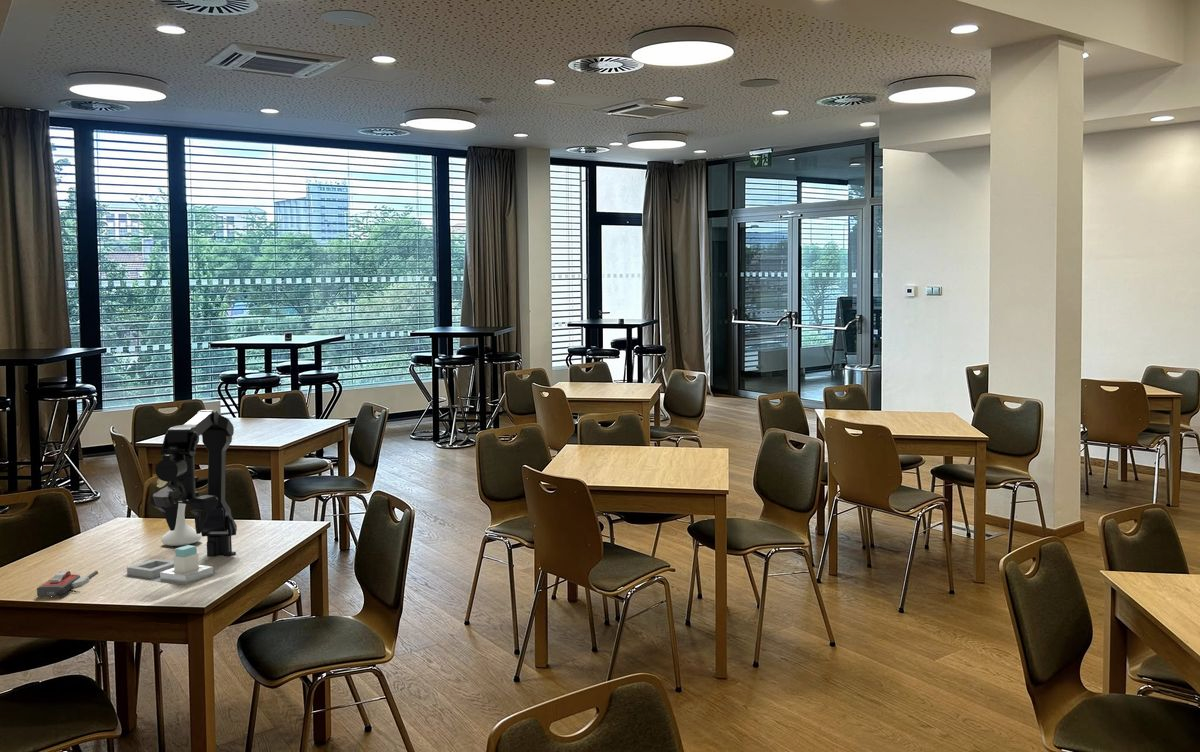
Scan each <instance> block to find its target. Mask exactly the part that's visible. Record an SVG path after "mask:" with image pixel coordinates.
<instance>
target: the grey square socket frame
mask: <svg viewBox="0 0 1200 752" xmlns="http://www.w3.org/2000/svg"><path fill="white" fill-rule="evenodd" d="M172 568H174V560H167V559H161V558H153V559H149V560H147V561H143V562H140V563H137V564H134V565H133V564H132V565H130V566H126V574H127V575H133V576H139V577H146V578H155V577H158V576H160V572H162V571H165V570H168V569H172Z"/></svg>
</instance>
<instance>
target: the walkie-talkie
mask: <svg viewBox="0 0 1200 752" xmlns="http://www.w3.org/2000/svg"><path fill="white" fill-rule="evenodd" d="M97 574H99V571H98V570H95V571H93V572H92V573H90V574H88V575H87V576H81V575H80V574H78V573H77V574H76V573H75V574H74V573H73V574H71V571H70V570H64V571H63V570H61V571H59V572H57V573H56V574H54V575H53V577H51V578H50V579H49V580H47V581H45V582H43V584H41V585H39V586H38V587H36V597H37V596H38V597H49V598H62V596H63V597H65V596H66V595H68V594H69V593H71V592H73V591H74V592H75V591H76V588H77V587H78V588H79V587H82V586H84V585H85V584H86V583H88V582H90V580H91V579H92V578H93V577H95V576H96V575H97ZM71 590H72V591H71ZM64 595H65V596H64ZM51 596H52V597H51ZM38 597H37V598H38Z"/></svg>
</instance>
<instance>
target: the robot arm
mask: <svg viewBox="0 0 1200 752" xmlns="http://www.w3.org/2000/svg"><path fill="white" fill-rule="evenodd" d="M196 412H197V413H196V414H195V415H194V416H193V417H192V418H191V419H189V420H187V422H185V423H184V424H181V425H180V424H179V425H174V426H171V427H169V428H168V430H167V431H166V432H165V433H164V434H165V435H164V437H163V441H162V446H161V449H160V453H159V454H160V456H162V459H161V460H160V461H159V462H157V464H156V466H155V469H154V470H155V475H156V477H157V478H158V479H160V480H162V481H166V482H167V483H166V485H165V486H164V487H161V489H160V490H158V491H157V492H155V493H152V495H151V496H150V497H149V498H150V500H149V501H150V505H152V506H154V508H155V509H157V510H159V511H160V512H161V513H162V515H163V516H164V519H165V522H166V523H167V526H168V528H169V530H171V531H173V530H175V526H176V521H177V512H178V505H179V503H182V504H186V505H190V507H191V508H192V509H191V510H190V511H189V512H191V514H192V515H193V516H194V527H195V528H194V529H195V530H196V534H201V538H202V537H206V541H207V542H206V556H207V557H213V558H214V557H218V556H221V557H231V556H233V555H237V552H236V551H232V550H233V549H232V536H236V535H237V531H238V529H237V528H238V526H237V524H236V522H235V519H234V518H233V515H232V510H231V509H232V508H231V507H230V506H229V504H228V502H227V501H226V458H227V457H226V455H227V454H226V453H227V449H228V448H229V446H231V444H232V442H233V436H234V433H235V429H234V428H235V427H234V425H233V424H232V422H231V421H230V419H229V418H227V417H225V416H224V415H222V414H220V413H219V412H218V411H217V410H214V409H200V410H198V411H196ZM200 436H201V437H202V439H201V440H202V442H201V443H202V444H203V445H204V447H205V449H206V450H207V451H208V452H207V455H208V457H207V462H208V463H207V494H204V495H200V491H196V482H197V481H199V476H196V475H195V474H196V471H195V470H196V468H195V455H196V453H197V452H196V450H197V447H198V444H199V442H200ZM187 500H188V501H187Z"/></svg>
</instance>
